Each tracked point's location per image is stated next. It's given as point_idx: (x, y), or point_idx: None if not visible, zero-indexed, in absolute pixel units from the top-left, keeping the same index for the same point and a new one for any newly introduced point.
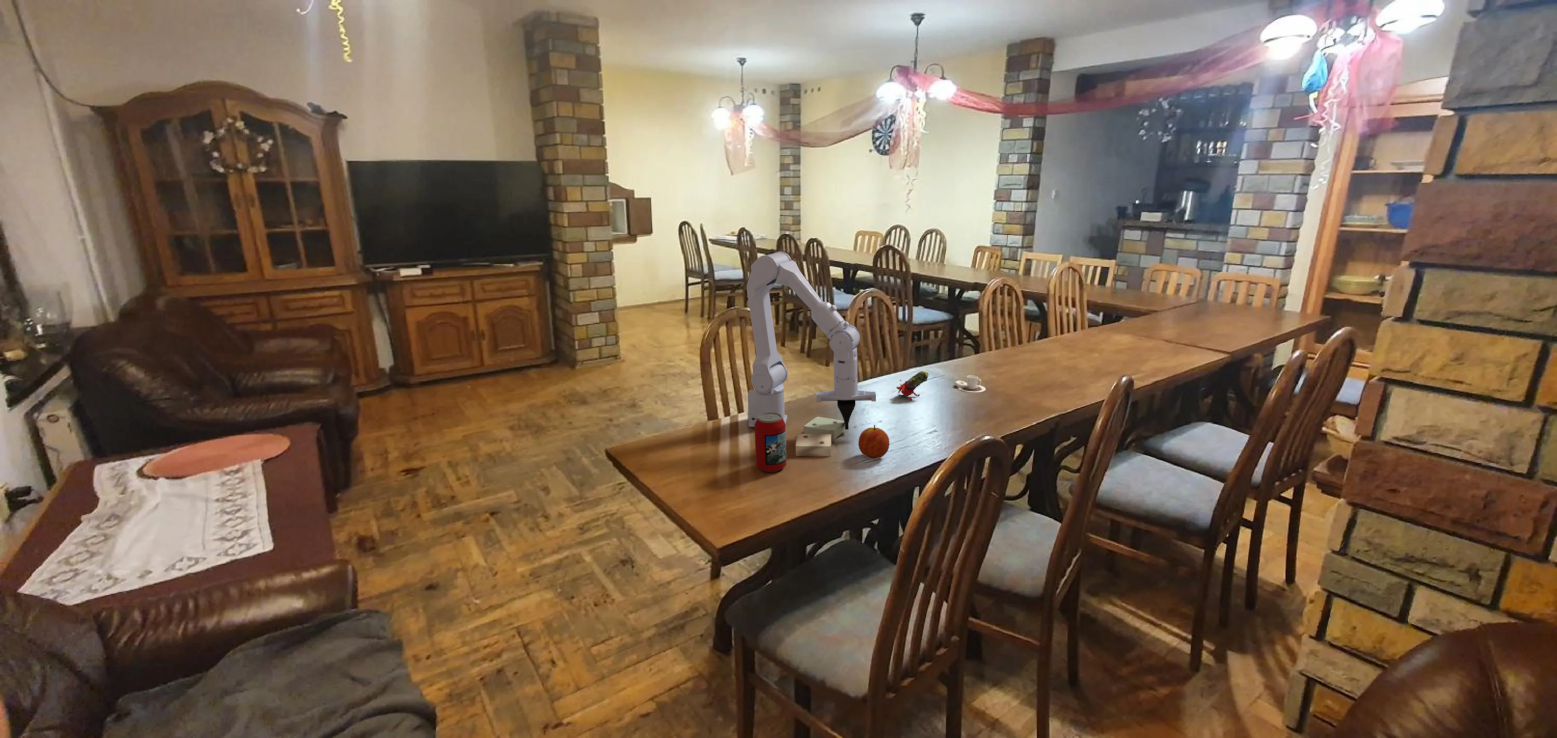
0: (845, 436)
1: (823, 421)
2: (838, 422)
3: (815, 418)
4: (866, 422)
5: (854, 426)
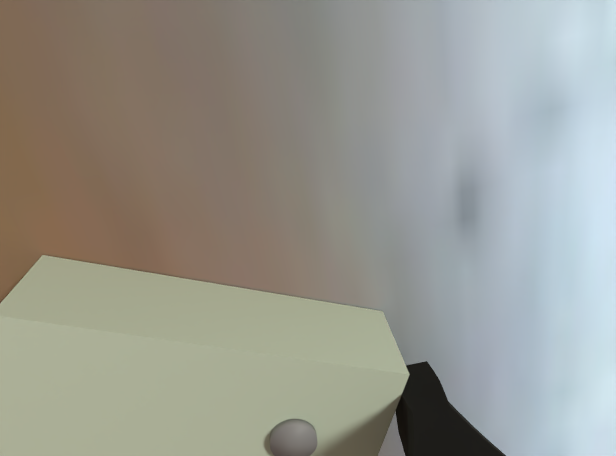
0: (396, 432)
1: (147, 439)
2: (330, 424)
3: (3, 383)
4: (602, 32)
5: (462, 193)
